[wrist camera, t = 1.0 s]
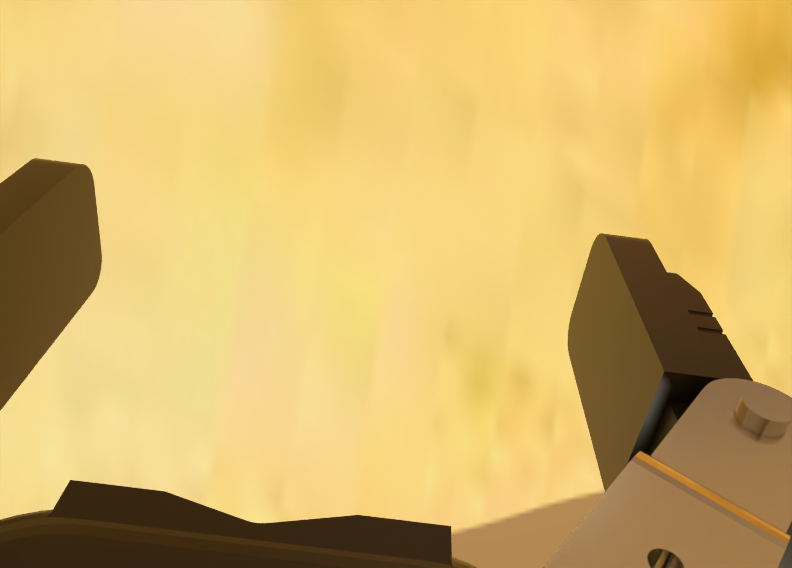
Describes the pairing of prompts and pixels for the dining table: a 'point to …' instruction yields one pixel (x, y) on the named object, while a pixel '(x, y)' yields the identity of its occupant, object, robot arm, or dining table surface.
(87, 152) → the dining table surface
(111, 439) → the dining table surface
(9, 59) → the dining table surface
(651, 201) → the dining table surface
